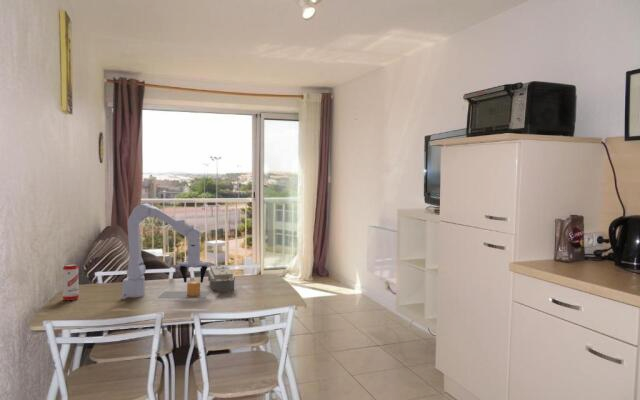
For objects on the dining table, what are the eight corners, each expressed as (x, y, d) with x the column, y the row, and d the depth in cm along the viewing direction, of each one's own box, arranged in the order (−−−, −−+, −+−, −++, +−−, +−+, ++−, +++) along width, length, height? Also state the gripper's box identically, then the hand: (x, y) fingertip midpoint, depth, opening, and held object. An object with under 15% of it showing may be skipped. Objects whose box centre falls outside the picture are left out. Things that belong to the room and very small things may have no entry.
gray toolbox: (228, 280, 245) (228, 262, 244) (237, 296, 219) (237, 276, 218) (206, 281, 241) (206, 263, 240) (212, 298, 215) (213, 278, 213)
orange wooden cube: (186, 295, 210) (186, 284, 209) (189, 292, 215) (189, 281, 215) (198, 295, 210) (198, 284, 210) (200, 292, 216) (200, 281, 215)
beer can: (81, 298, 205) (81, 264, 205) (69, 302, 200) (68, 266, 199) (72, 297, 208) (72, 263, 207) (59, 300, 202) (59, 265, 202)
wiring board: (157, 300, 205) (157, 289, 205) (164, 293, 217) (164, 283, 217) (205, 300, 206) (205, 289, 206) (210, 293, 218) (210, 283, 218)
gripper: (175, 254, 207) (175, 283, 208) (207, 255, 208) (207, 284, 209) (179, 252, 214) (179, 280, 215) (210, 252, 215) (210, 280, 216)
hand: (193, 282), depth 212 cm, fingers open, 7 cm apart
